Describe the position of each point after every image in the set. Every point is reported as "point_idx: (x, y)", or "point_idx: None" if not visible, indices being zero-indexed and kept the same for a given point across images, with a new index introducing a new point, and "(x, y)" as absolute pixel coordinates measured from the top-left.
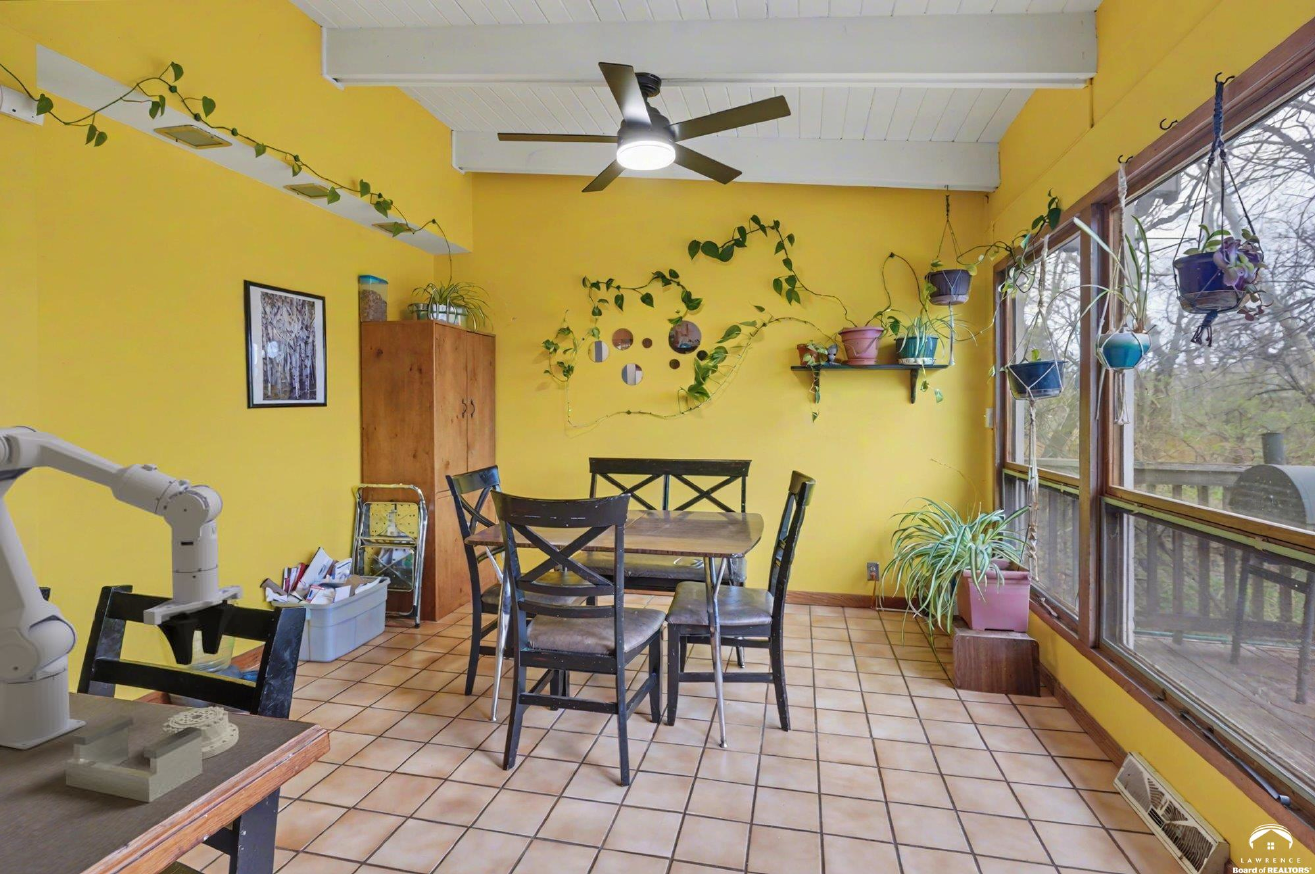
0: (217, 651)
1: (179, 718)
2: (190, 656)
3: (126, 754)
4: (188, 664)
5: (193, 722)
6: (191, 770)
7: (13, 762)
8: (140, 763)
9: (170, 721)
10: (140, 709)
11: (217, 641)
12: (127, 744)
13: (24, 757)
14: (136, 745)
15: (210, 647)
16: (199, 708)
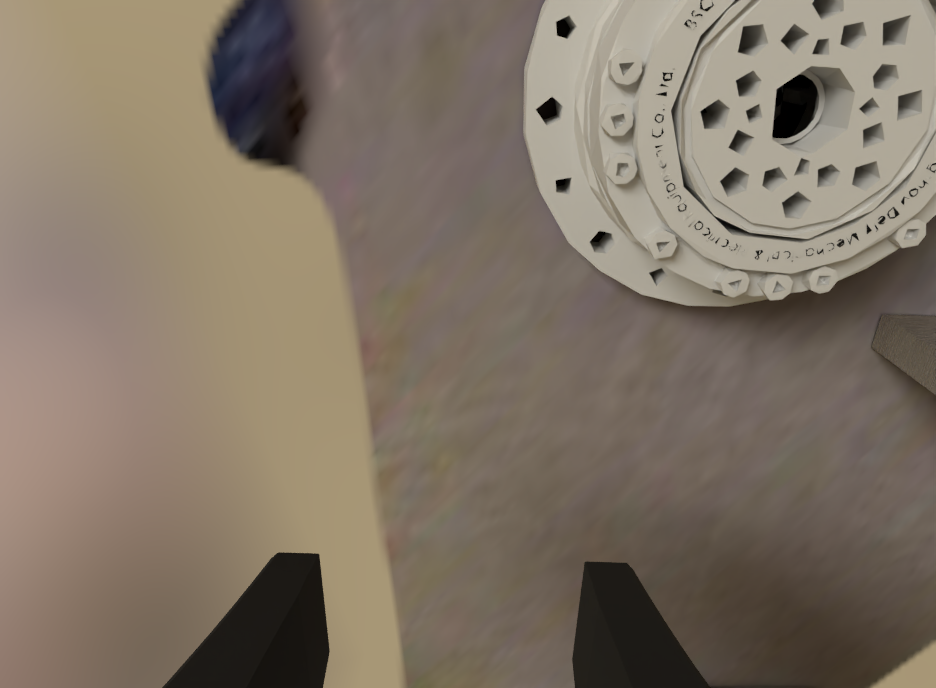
0: (277, 564)
1: (845, 205)
2: (633, 615)
3: (905, 325)
4: (615, 563)
5: (909, 40)
6: None
7: (905, 658)
8: None
9: (886, 228)
10: (450, 637)
11: (251, 653)
12: (930, 345)
13: (868, 658)
14: (748, 394)
15: (304, 648)
16: (666, 218)
